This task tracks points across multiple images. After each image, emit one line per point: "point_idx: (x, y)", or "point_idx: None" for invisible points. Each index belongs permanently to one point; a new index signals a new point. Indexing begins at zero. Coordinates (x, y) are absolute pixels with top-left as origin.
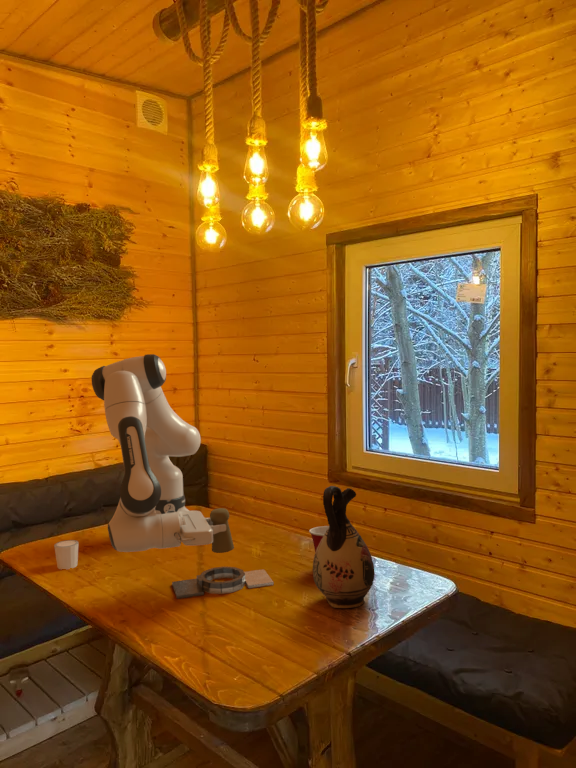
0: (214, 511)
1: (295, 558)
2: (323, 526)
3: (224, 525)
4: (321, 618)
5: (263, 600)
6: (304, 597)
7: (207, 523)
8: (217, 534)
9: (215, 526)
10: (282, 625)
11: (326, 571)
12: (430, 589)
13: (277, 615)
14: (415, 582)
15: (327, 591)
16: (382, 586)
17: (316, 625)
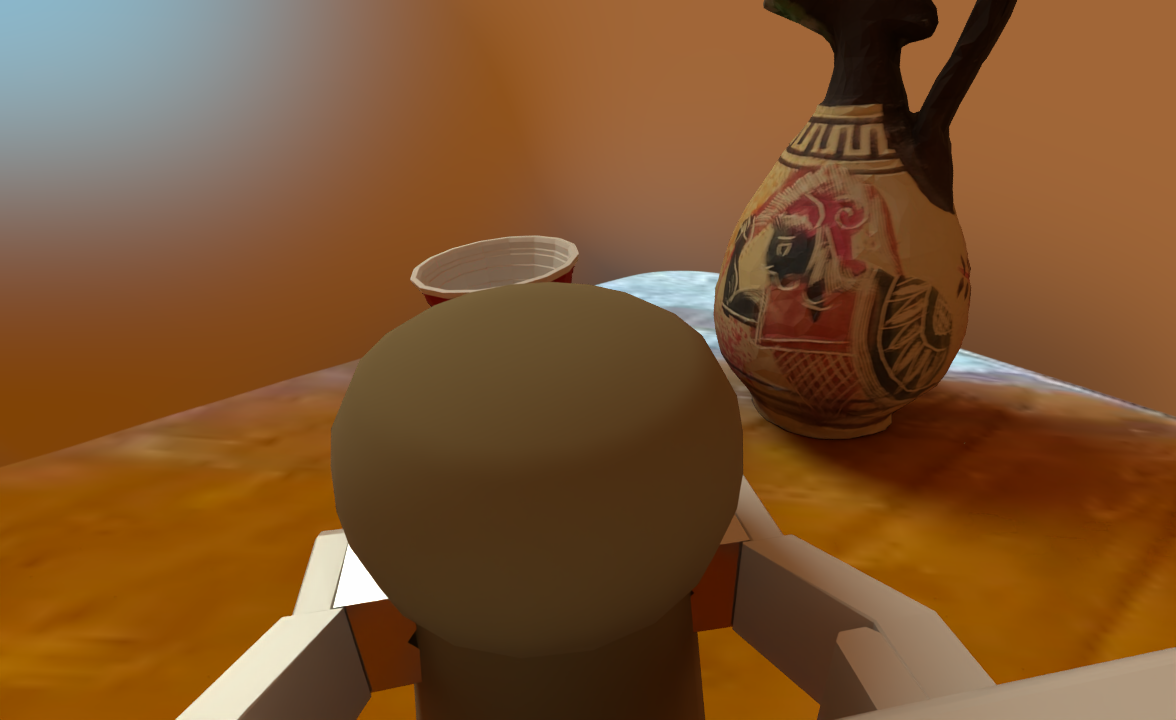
0: (618, 398)
1: (319, 489)
2: (418, 271)
3: (746, 487)
4: (991, 468)
5: None
6: (795, 496)
7: (969, 715)
8: (690, 702)
9: (894, 592)
10: (1153, 593)
11: (965, 303)
12: (710, 288)
13: (1044, 606)
14: (664, 298)
15: (940, 379)
16: None
17: (1067, 485)
